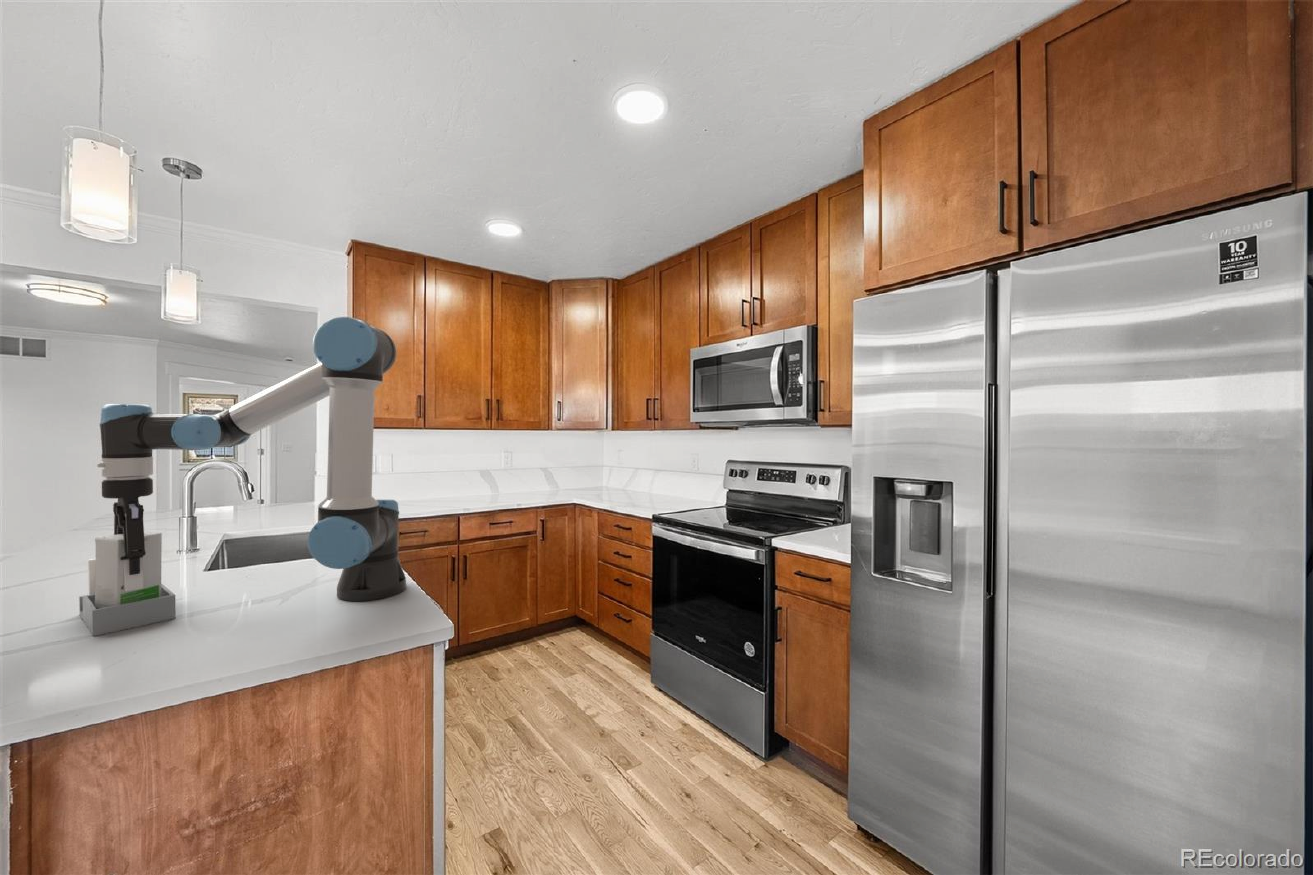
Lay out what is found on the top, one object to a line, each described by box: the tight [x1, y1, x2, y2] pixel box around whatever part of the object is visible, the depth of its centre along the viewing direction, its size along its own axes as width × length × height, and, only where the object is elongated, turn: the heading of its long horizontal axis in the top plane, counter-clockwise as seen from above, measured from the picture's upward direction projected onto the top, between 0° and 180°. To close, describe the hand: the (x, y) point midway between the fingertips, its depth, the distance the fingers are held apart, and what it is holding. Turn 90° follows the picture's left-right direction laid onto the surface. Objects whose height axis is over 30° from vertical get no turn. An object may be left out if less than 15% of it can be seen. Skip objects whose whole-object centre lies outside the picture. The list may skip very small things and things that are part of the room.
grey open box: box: [78, 558, 176, 637], centre depth 111 cm, size 18×12×12 cm, turn 53°
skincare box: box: [94, 531, 163, 609], centre depth 109 cm, size 8×7×16 cm
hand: (129, 585), depth 109 cm, fingers closed on skincare box, 8 cm apart
